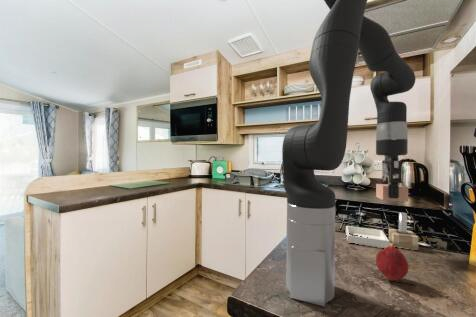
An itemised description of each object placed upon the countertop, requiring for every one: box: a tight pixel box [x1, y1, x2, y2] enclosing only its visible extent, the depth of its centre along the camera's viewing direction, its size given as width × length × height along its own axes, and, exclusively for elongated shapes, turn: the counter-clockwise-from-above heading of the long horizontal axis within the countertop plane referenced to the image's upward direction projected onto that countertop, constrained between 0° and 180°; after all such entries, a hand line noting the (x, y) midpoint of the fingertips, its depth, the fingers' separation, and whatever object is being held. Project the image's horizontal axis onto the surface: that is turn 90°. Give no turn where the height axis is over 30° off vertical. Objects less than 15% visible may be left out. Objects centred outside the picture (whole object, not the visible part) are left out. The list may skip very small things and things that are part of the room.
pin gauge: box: [398, 212, 408, 234], centre depth 67 cm, size 2×2×10 cm
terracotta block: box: [375, 183, 409, 203], centre depth 63 cm, size 6×6×4 cm
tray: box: [345, 225, 390, 249], centre depth 71 cm, size 11×11×2 cm
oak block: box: [388, 228, 419, 251], centre depth 67 cm, size 6×6×4 cm
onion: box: [375, 243, 410, 282], centre depth 47 cm, size 6×6×8 cm
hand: (390, 196), depth 63 cm, fingers closed on terracotta block, 6 cm apart
